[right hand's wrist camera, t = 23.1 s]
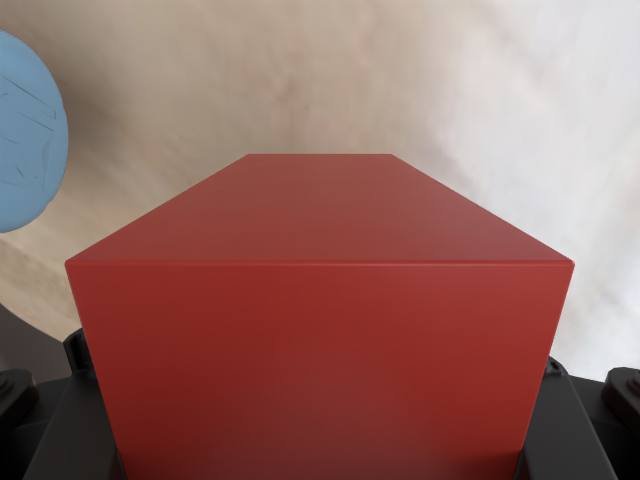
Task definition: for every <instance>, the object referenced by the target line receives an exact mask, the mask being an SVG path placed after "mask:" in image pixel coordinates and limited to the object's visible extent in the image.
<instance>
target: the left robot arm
mask: <svg viewBox="0 0 640 480" xmlns="http://www.w3.org/2000/svg"><path fill="white" fill-rule="evenodd" d="M68 146H69V135H68V123H67V117H66V113H65V110H64V107H63V102H62V97H61V94H60V92H59V89H58V87H57V85H56V83H55V81H54V79H53V77H52V75H51V73H50V72H49V70H48V68H47V67H46V65H45V64H44V63H43V61H42V60H41V59H40V58H39V57H38V55H37V54H36V53H35V52H34V51H33V50H32V49H31V48H30V47H28V46H27V45H26V44H25V43H24V42H22V41H21V40H20V39H18V38H16V37H15V36H13V35H11V34H9V33H7V32H5V31H2V30H0V233H5V232H10V231H13V230H16V229H19V228H21V227H23V226H25V225H27V224H28V223H30V222H32V221H33V220H34V219H35V218H37V217H38V216H39V215H40V214H41V213H42V212H43V211H44V210H45V208H46V206H47V204H48V202H50V201H51V200H53V198H54V196H55V195H56V193H57V191H58V189H59V186H60V184H61V182H62V179H63V176H64V172H65V168H66V163H67V157H68Z"/></svg>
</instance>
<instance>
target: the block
mask: <svg viewBox="0 0 640 480" xmlns="http://www.w3.org/2000/svg"><path fill="white" fill-rule="evenodd" d="M574 266H575V263H574V261H572V260H571V259H569V258H567V257H566V256H564V255H562V254H560V253H559V252H557V251H555V250H554V249H552V248H550V247H549V246H547V245H545V244H543V243H542V242H540V241H538V240H537V239H535V238H533V237H532V236H530V235H528V234H526V233H525V232H523V231H521V230H520V229H518V228H516V227H515V226H513V225H511V224H509V223H508V222H506V221H504V220H503V219H501V218H499V217H498V216H496V215H494V214H492V213H491V212H489V211H487V210H486V209H484V208H482V207H481V206H479V205H477V204H475V203H474V202H472V201H470V200H469V199H467V198H465V197H463V196H462V195H460V194H458V193H457V192H455V191H453V190H452V189H450V188H448V187H446V186H445V185H443V184H441V183H440V182H438V181H436V180H435V179H433V178H431V177H429V176H428V175H426V174H424V173H423V172H421V171H419V170H418V169H416V168H414V167H412V166H411V165H409V164H407V163H406V162H404V161H402V160H401V159H399V158H397V157H395V156H394V155H392V154H248V155H246V156H244V157H243V158H241V159H239V160H238V161H236V162H234V163H232V164H231V165H229V166H227V167H226V168H224V169H222V170H220V171H219V172H217V173H215V174H214V175H212V176H210V177H208V178H207V179H205V180H203V181H202V182H200V183H198V184H197V185H195V186H193V187H191V188H190V189H188V190H186V191H185V192H183V193H181V194H179V195H178V196H176V197H174V198H173V199H171V200H169V201H167V202H166V203H164V204H162V205H161V206H159V207H157V208H155V209H154V210H152V211H150V212H149V213H147V214H145V215H144V216H142V217H140V218H138V219H137V220H135V221H133V222H132V223H130V224H128V225H126V226H125V227H123V228H121V229H120V230H118V231H116V232H114V233H113V234H111V235H109V236H108V237H106V238H104V239H102V240H101V241H99V242H97V243H96V244H94V245H92V246H90V247H89V248H87V249H85V250H84V251H82V252H80V253H79V254H77V255H75V256H73V257H72V258H70V259H68V260H67V261H66V262H65V269H66V272H67V276H68V279H69V283H70V286H71V289H72V293H73V296H74V300H75V303H76V307H77V310H78V314H79V317H80V321H81V324H82V328H83V331H84V335H85V338H86V342H87V345H88V348H89V352H90V355H91V359H92V362H93V366H94V369H95V373H96V376H97V380H98V383H99V387H100V390H101V394H102V397H103V400H104V404H105V407H106V411H107V414H108V418H109V421H110V425H111V428H112V432H113V435H114V439H115V442H116V446H117V449H118V453H119V456H120V459H121V463H122V466H123V470H124V473H125V477H126V480H513V478H514V475H515V471H516V468H517V464H518V461H519V457H520V454H521V450H522V447H523V443H524V440H525V436H526V433H527V430H528V426H529V423H530V419H531V416H532V412H533V409H534V405H535V402H536V398H537V395H538V391H539V388H540V384H541V381H542V377H543V374H544V371H545V367H546V364H547V360H548V357H549V353H550V350H551V346H552V343H553V339H554V336H555V332H556V329H557V325H558V322H559V319H560V315H561V312H562V308H563V305H564V301H565V298H566V294H567V291H568V287H569V284H570V280H571V277H572V273H573V270H574Z"/></svg>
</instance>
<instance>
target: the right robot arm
mask: <svg viewBox="0 0 640 480" xmlns="http://www.w3.org/2000/svg"><path fill="white" fill-rule="evenodd" d="M63 345H64V348H65V351H66V354H67V357H68V360H69V364H70V367H71V370H72V375H71V377H67V378H63V379H58V380H53V381H48V382H44V383H39V384H35V381H34V378H33V375H32V373H31V372H29V371H28V370H26V369H11V370H5V371H0V480H126V477H125V473H124V470H123V466H122V463H121V459H120V456H119V453H118V449H117V446H116V442H115V439H114V435H113V432H112V428H111V425H110V421H109V418H108V414H107V411H106V407H105V404H104V400H103V397H102V394H101V390H100V387H99V383H98V380H97V376H96V373H95V369H94V366H93V362H92V359H91V355H90V352H89V348H88V345H87V342H86V338H85V335H84V331H83V328H80V329H78V330H77V331H75V332H74V333H72V334H71V335H69V336H68V337H67V338H66V340H65V341H64V342H63ZM513 480H640V370H639V369H633V368H627V367H619V368H613V369H612V370H610V371H609V372H608V374H607V377H606V380H605V383H604V382H599V381H594V380H589V379H585V378H580V377H575V376H571V375H569V374H568V372H567V371H566V370H565V368H564V367H563V366H562V364H560V363H559V362H558V361H556V360H555V359H554V358H552V357H550V356H549V357H548V360H547V364H546V367H545V371H544V374H543V377H542V381H541V384H540V388H539V391H538V395H537V398H536V402H535V405H534V409H533V412H532V416H531V419H530V423H529V426H528V430H527V433H526V436H525V440H524V443H523V447H522V450H521V454H520V457H519V461H518V464H517V468H516V471H515V475H514V478H513Z"/></svg>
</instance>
